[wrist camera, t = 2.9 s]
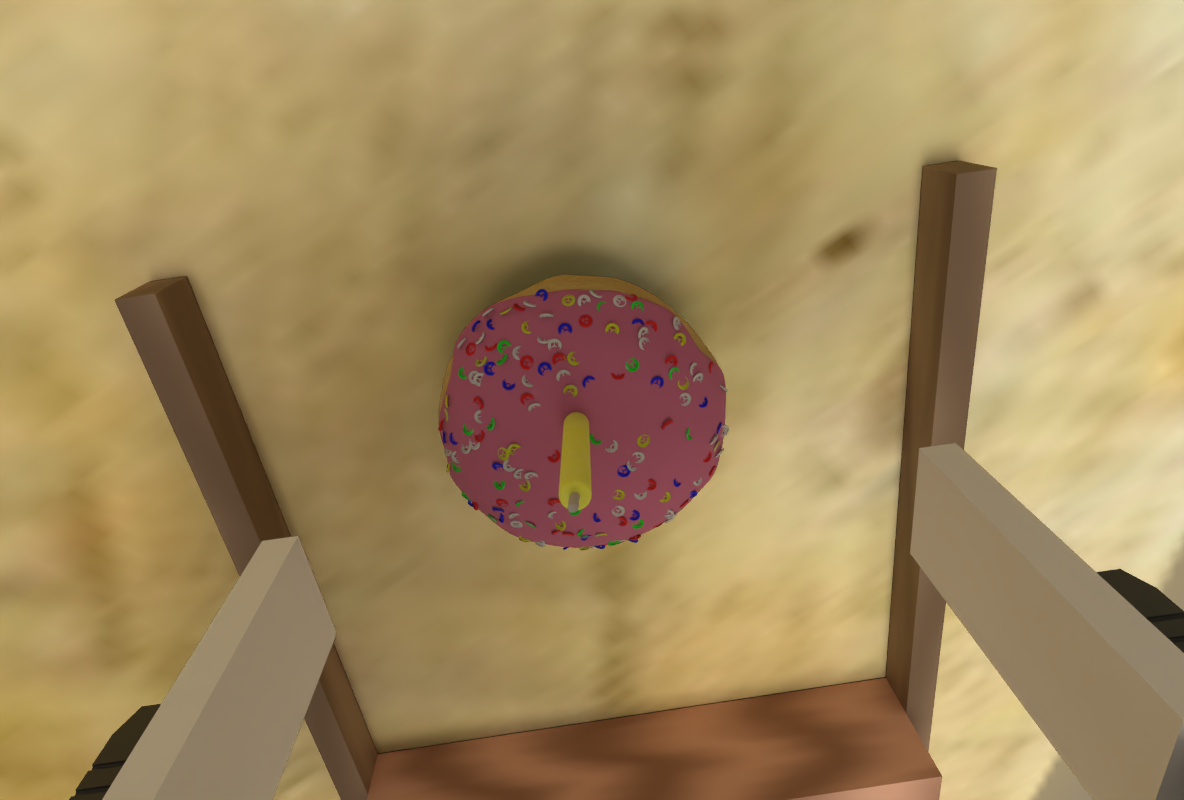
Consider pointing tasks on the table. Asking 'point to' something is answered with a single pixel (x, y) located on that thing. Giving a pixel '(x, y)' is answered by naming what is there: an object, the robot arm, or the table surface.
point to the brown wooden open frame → (669, 738)
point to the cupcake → (581, 412)
